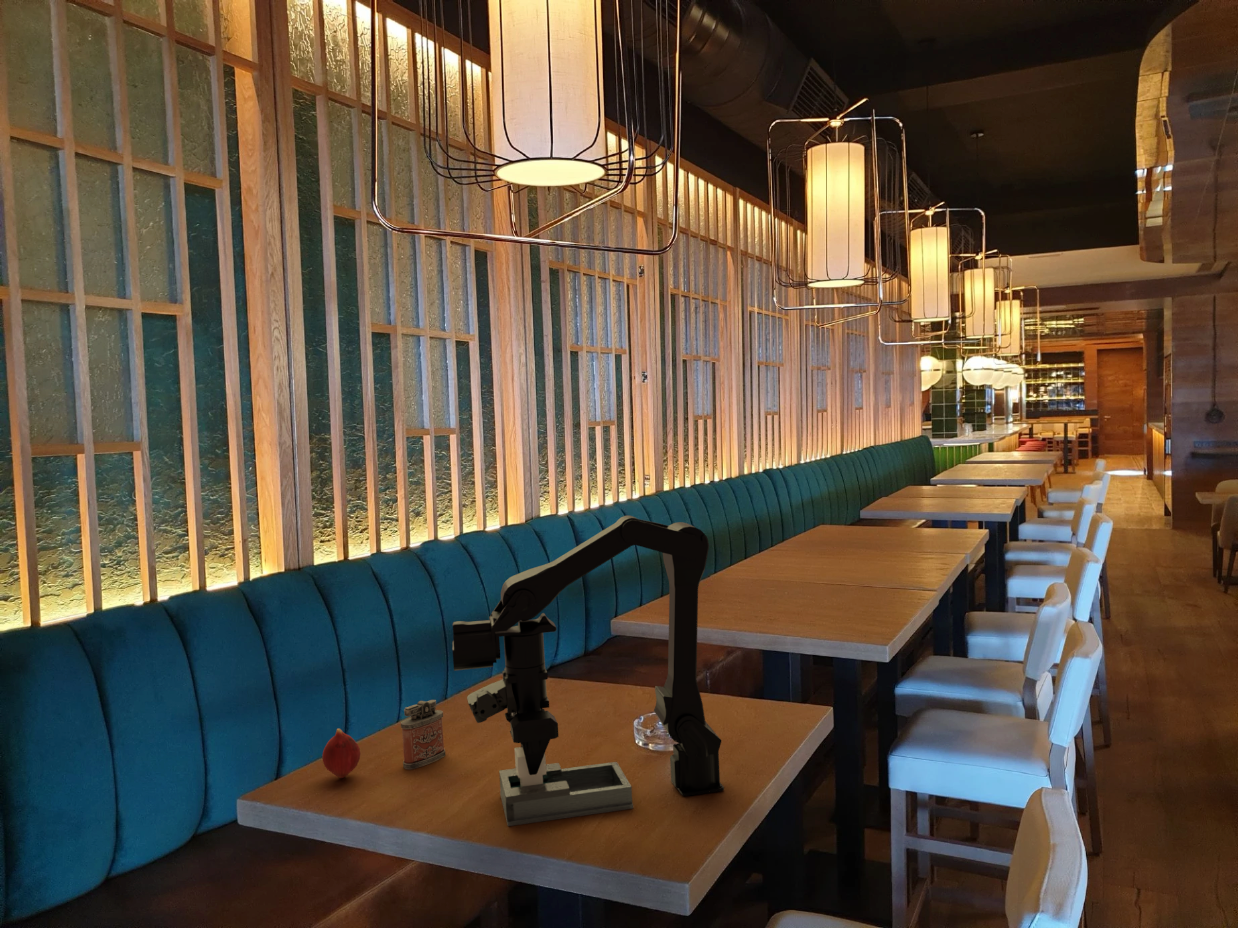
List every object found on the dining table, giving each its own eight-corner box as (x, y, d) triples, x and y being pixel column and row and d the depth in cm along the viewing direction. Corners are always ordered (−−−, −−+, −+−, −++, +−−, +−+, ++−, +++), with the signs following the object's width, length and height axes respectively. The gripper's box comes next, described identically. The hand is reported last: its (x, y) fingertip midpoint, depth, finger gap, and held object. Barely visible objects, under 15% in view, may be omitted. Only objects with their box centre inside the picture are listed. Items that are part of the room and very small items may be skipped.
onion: (368, 771, 151) (365, 723, 151) (348, 785, 146) (344, 736, 146) (338, 769, 153) (334, 721, 153) (316, 783, 148) (313, 733, 147)
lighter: (437, 751, 159) (433, 694, 159) (449, 755, 157) (446, 697, 157) (398, 766, 153) (395, 707, 153) (411, 770, 151) (407, 710, 151)
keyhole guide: (616, 779, 143) (615, 754, 143) (633, 808, 133) (631, 780, 132) (500, 794, 140) (499, 769, 139) (507, 826, 129) (506, 798, 129)
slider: (549, 788, 139) (547, 741, 138) (555, 805, 133) (553, 755, 132) (509, 794, 137) (507, 746, 137) (514, 811, 132) (511, 760, 131)
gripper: (465, 653, 141) (471, 753, 142) (473, 687, 123) (480, 802, 124) (537, 645, 144) (543, 744, 145) (555, 678, 126) (562, 790, 126)
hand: (531, 768), depth 135 cm, fingers closed on slider, 4 cm apart
